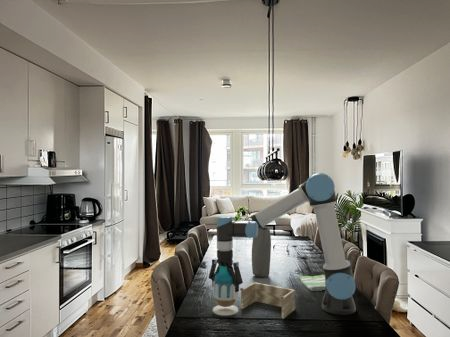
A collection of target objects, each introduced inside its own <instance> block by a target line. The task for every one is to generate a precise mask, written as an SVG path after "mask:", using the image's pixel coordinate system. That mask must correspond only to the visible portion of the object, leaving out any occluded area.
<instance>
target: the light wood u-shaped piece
mask: <svg viewBox="0 0 450 337" xmlns="http://www.w3.org/2000/svg"><path fill="white" fill-rule="evenodd" d="M239 291H240V295H241V296H240V306H241V307H240V308H242V310H244V309H245V308H247V307H248V305H249V306H251V305H252V304H253V303H255V302H257V303H258V302H259V303H263V304H267V305H271V306H275V307H279V308H280V307H281V319H283V320H284V319H285V318H287V317H288V316H289V315H290V314H292V313H293V312H294V311H295V310H296V289H293V288H287V287H283V286H282V287H281V286H276V285H270V284H264V283H259V282H252V283H251V284H248V285H247V286H245V287H239Z"/></svg>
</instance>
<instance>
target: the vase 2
mask: <svg viewBox="0 0 450 337" xmlns="http://www.w3.org/2000/svg"><path fill="white" fill-rule="evenodd" d="M251 243H252V244H251V270H252V275H253V276H255V277H258V278H268V277H270V270H271V254H272V251H271V250H272V237H271V231H270V228H269V227H265V226H263V227H262V228H260V229H258V236H257V237H256V238H252V242H251Z"/></svg>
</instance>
